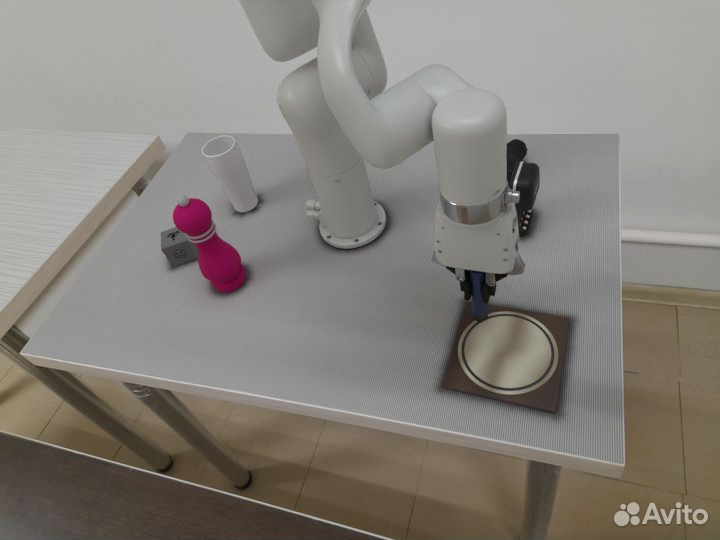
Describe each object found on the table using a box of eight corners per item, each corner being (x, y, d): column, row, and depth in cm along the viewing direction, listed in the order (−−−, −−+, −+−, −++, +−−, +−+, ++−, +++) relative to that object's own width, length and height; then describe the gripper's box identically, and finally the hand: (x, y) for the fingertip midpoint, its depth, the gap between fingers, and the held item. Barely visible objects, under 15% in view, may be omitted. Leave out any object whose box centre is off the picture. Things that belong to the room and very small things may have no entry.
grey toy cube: (196, 241, 104) (185, 223, 100) (198, 258, 101) (186, 240, 97) (172, 249, 104) (160, 232, 100) (173, 267, 100) (160, 249, 97)
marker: (471, 320, 78) (467, 273, 70) (474, 308, 79) (471, 260, 71) (486, 323, 77) (484, 275, 69) (489, 311, 78) (487, 263, 70)
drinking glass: (225, 214, 108) (193, 155, 97) (241, 192, 112) (213, 133, 101) (252, 218, 105) (223, 158, 94) (268, 195, 109) (242, 135, 98)
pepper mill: (207, 275, 97) (155, 193, 82) (243, 258, 98) (198, 175, 83) (215, 301, 92) (161, 219, 77) (253, 284, 93) (207, 200, 78)
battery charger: (530, 239, 87) (533, 187, 79) (507, 236, 88) (508, 184, 80) (538, 211, 91) (542, 158, 82) (516, 208, 92) (517, 156, 84)
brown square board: (441, 387, 73) (441, 384, 72) (466, 302, 81) (466, 299, 81) (555, 413, 67) (556, 411, 66) (569, 320, 76) (570, 316, 75)
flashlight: (470, 231, 91) (469, 210, 87) (503, 157, 102) (503, 136, 98) (499, 236, 89) (499, 214, 85) (529, 160, 100) (530, 138, 96)
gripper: (549, 180, 60) (541, 282, 73) (416, 171, 66) (431, 267, 79) (539, 226, 56) (532, 325, 69) (398, 212, 62) (417, 305, 75)
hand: (478, 293), depth 74 cm, fingers closed on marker, 2 cm apart
